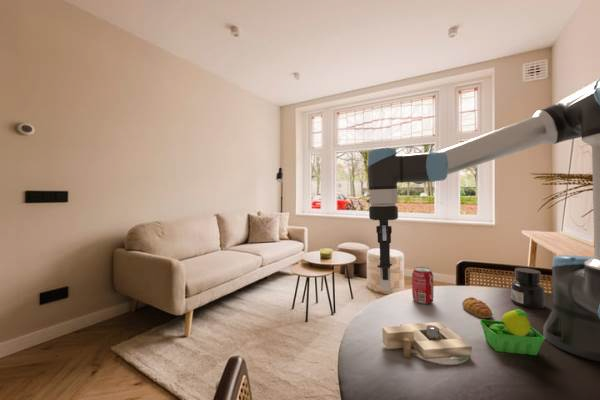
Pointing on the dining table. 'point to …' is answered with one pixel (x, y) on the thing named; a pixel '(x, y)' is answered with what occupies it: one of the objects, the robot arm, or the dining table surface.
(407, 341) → the dowel
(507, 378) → the dining table surface
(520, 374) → the dining table surface
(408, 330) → the wooden block frame
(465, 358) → the pot lid
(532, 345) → the fruit basket
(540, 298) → the ink bottle
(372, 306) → the dining table surface
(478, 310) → the pastry
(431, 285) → the soda can
